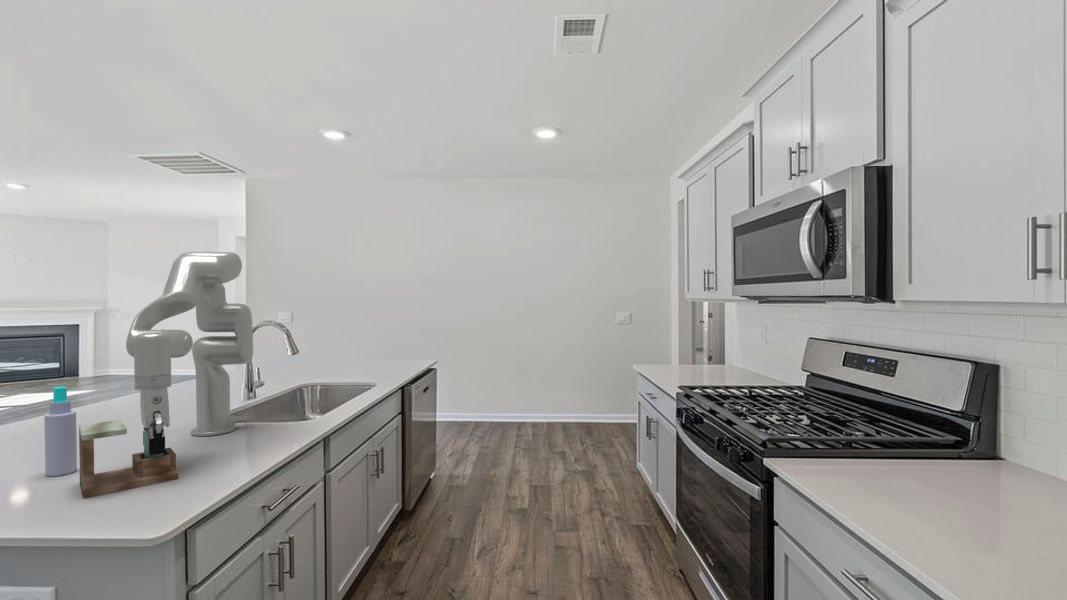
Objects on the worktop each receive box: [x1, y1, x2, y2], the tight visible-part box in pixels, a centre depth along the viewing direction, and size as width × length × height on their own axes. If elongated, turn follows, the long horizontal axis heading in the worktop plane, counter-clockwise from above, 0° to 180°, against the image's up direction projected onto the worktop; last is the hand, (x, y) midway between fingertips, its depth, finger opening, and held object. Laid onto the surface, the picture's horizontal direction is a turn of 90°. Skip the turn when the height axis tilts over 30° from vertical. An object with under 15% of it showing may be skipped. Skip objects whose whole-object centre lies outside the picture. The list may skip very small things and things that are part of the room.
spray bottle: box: [44, 386, 78, 477], centre depth 134 cm, size 6×6×22 cm
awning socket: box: [78, 419, 179, 499], centre depth 129 cm, size 18×13×14 cm
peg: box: [143, 430, 164, 459], centre depth 132 cm, size 4×4×10 cm
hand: (154, 449), depth 132 cm, fingers open, 9 cm apart
